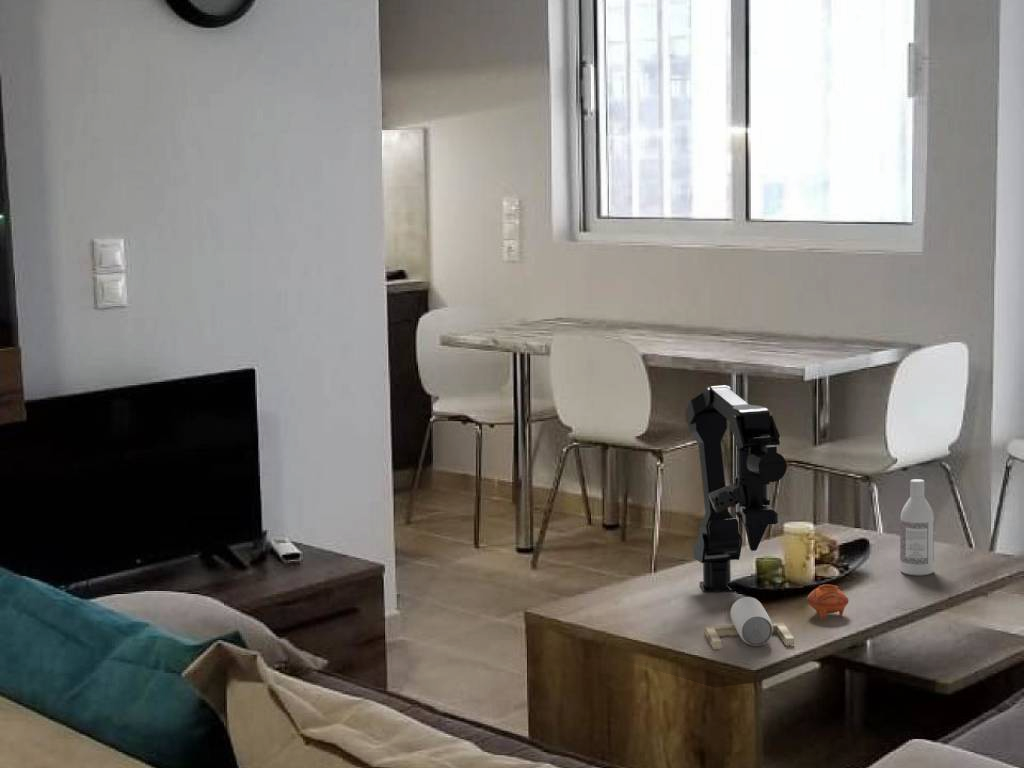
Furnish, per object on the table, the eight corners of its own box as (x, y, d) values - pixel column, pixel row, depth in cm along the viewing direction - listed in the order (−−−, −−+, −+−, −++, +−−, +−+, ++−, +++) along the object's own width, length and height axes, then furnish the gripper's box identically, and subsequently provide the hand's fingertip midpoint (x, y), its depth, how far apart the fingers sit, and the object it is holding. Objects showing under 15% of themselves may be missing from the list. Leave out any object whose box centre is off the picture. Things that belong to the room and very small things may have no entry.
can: (727, 626, 313) (737, 646, 301) (732, 594, 312) (742, 612, 300) (761, 630, 313) (772, 649, 301) (765, 597, 312) (776, 616, 300)
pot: (796, 614, 320) (801, 580, 320) (824, 616, 324) (829, 582, 324) (825, 622, 313) (830, 587, 313) (854, 624, 318) (859, 589, 318)
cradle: (705, 634, 310) (705, 626, 310) (783, 630, 311) (783, 623, 310) (713, 649, 301) (713, 641, 300) (794, 646, 301) (794, 638, 301)
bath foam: (912, 566, 354) (912, 475, 351) (940, 571, 349) (940, 479, 346) (893, 572, 349) (894, 480, 346) (921, 578, 344) (922, 485, 341)
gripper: (703, 464, 326) (704, 540, 329) (719, 483, 308) (720, 564, 310) (759, 462, 327) (759, 538, 329) (778, 481, 308) (778, 561, 311)
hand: (753, 550), depth 320 cm, fingers closed
